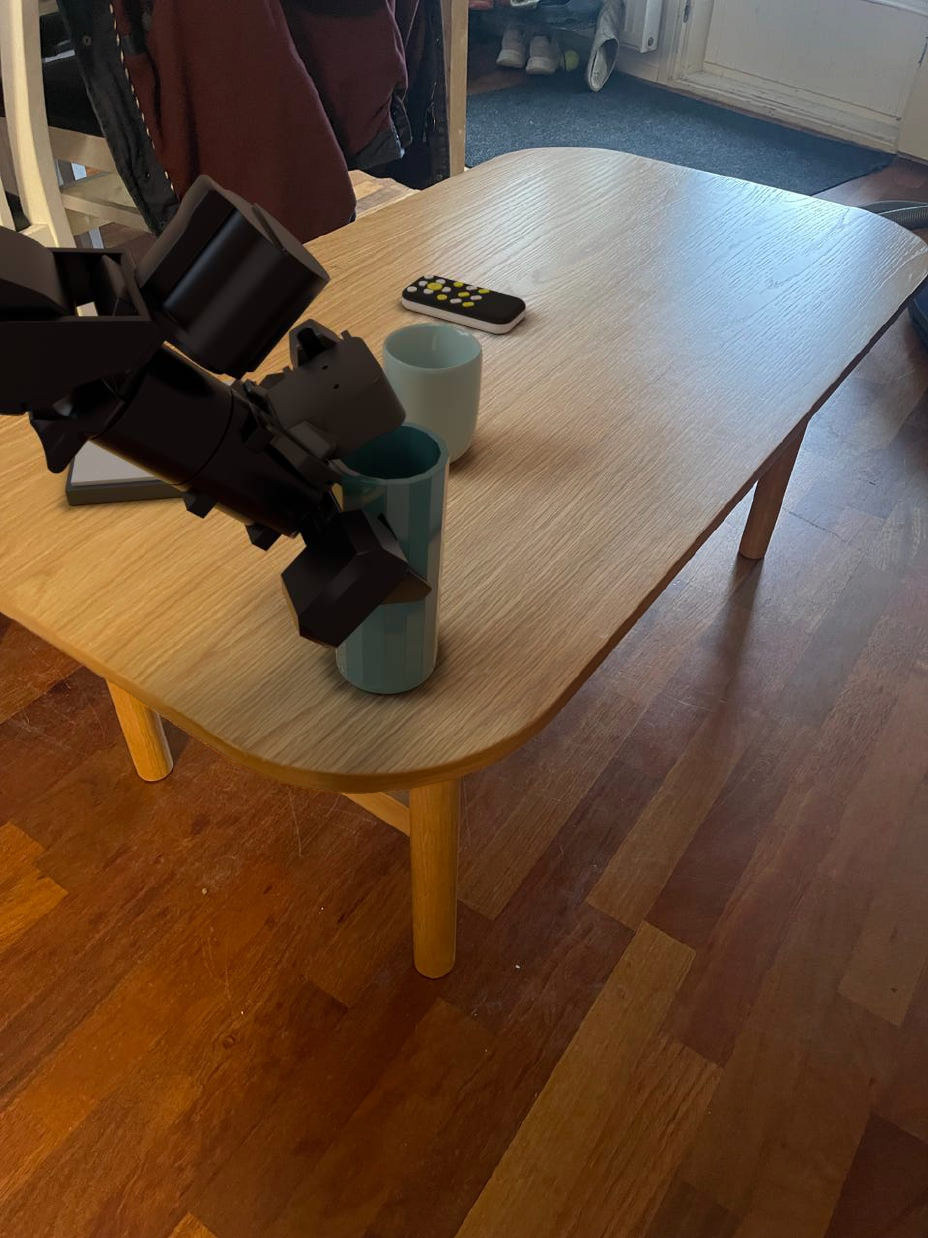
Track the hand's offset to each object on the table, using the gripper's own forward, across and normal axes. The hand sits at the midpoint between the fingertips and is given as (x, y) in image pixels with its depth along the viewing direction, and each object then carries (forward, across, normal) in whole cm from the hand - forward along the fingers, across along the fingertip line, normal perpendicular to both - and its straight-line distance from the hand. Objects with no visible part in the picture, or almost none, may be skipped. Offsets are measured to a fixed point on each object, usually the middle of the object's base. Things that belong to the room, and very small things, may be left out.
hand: (406, 557), depth 58 cm
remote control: (+22, +46, -10) cm, 52 cm away
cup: (+13, +22, -1) cm, 25 cm away
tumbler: (+5, 0, +7) cm, 8 cm away
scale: (-2, +30, +13) cm, 33 cm away
